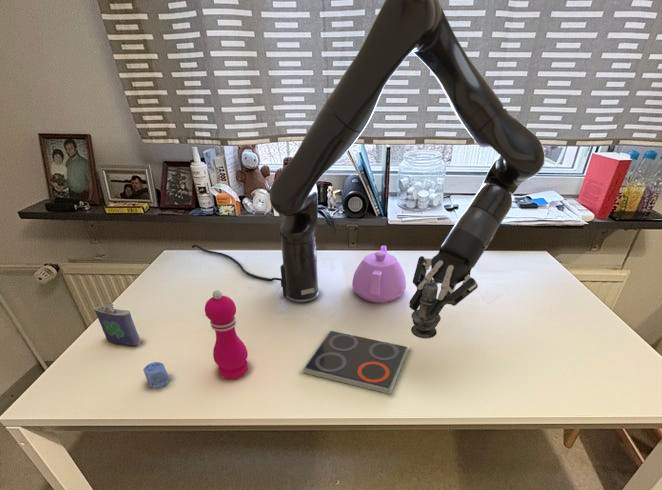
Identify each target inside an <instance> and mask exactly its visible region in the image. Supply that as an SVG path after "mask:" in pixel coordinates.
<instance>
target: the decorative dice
mask: <svg viewBox="0 0 662 490" xmlns="http://www.w3.org/2000/svg"><path fill="white" fill-rule="evenodd" d="M142 371H143V374H144V376H145V378H146V381H147V384H148V386H149V387H150V388H154V389H157V388H159V389H160V388H162V387H164V386H166V385H167V384H168V383H169V381H170V377H169V374H168V372H167V369H166V367H165V365H164V363H163V362H159V361H153V362H150V363H147V365H145V367H144V368H143V369H142Z"/></svg>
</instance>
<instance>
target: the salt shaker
mask: <svg viewBox="0 0 662 490" xmlns="http://www.w3.org/2000/svg"><path fill="white" fill-rule="evenodd" d="M438 290H439V286H438V284H435V283H434V282H433V278H432V279H430V282H427V283H425V284H424V285H423V289H422V296H421V297H420V298H419V301H420V306H419V307H418V309H417V310H416V311H414V310H413V312H412V313H411V315H410V316H411V320H412V323H413V326H411V327H410V332H411V334H412V335H413V336H415V337H416V338H419V339H424V340H425V339H426V340H427V339H432V338H434V337H436V335H437V329H436V328H437V326H438V325H439V323H440V321H441V319H442V317H441V315H440V313H439V314H438V316H437V317H436V318H433V319H432V320H430V319H429V318H427V317H426V313H427V311H428V310H429V308H430V307H431V305H432V304H433V302H434V301H435V299H438Z"/></svg>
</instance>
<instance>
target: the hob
mask: <svg viewBox="0 0 662 490" xmlns="http://www.w3.org/2000/svg"><path fill="white" fill-rule="evenodd" d="M408 352H409V346H406V345H402V344H401V345H400V344H395V343H391V342H386V341H381V340H377V339H373V338H367V337H363V336H357V335H353V334H349V333H344V332H340V331H334V330H330V331H329V332H328V333H327V334H326V336H325V338H324V339H323V340H322V342H321V343H320V345H319V346H318V347H317V349H316V350H315V352H314V353H313V355H312V356H311V357H310V359H309V360H308V362H307V363H306V364H305V366H304V367H303V370H302V371H303V373H304V374H306V375H311V376H315V377H319V378H322V379H327V380H330V381H331V380H332V381H336V382H339V383H343V384H347V385H351V386H356V387H361V388H363V389H368V390H372V391H376V392H380V393H384V394H388V395H391V393H392V391H393V388H394V386H395V384H396V381H397V380H398V377H399V375H400V371H401V370H402V367H403V364H404V362H405V360H406V358H407V354H408Z"/></svg>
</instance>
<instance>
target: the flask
mask: <svg viewBox="0 0 662 490" xmlns="http://www.w3.org/2000/svg"><path fill="white" fill-rule="evenodd" d="M94 313H95V315H96V317H97V319H98V322H99V324H100V326H101V329H102V331H103V333H104V336H105V338H106V341H107V342H108V343H110V344H112V345H116V346H123V347H134V348H135V347H139V346H140V345H141V344H142V340H141V338H140V335H139V333H138V330H137V327H136V325H135V323H134V320H133V317H132V314H131V312H130V311H129V310H127V309H117V308H115V307H114V303H112V302H110V304H109V303H105V304H102V305H99V306H96V307H94Z"/></svg>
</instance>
